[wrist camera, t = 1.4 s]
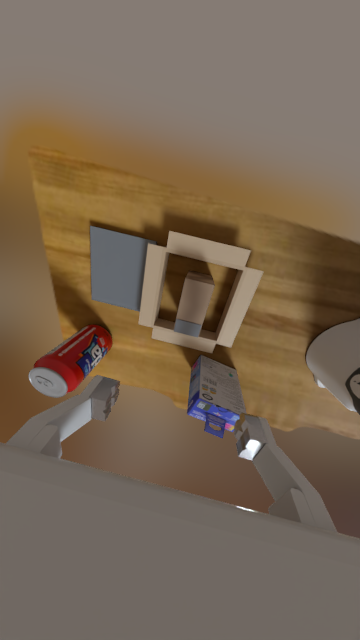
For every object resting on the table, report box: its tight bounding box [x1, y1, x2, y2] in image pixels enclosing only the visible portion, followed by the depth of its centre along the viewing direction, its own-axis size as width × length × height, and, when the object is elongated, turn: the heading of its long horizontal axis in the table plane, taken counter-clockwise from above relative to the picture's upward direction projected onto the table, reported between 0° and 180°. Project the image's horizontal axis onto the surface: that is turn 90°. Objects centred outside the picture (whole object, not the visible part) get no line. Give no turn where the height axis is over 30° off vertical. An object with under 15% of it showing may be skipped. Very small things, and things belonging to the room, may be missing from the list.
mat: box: [90, 226, 157, 311], centre depth 32 cm, size 12×14×1 cm
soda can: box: [29, 325, 112, 398], centre depth 34 cm, size 8×8×15 cm
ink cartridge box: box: [187, 355, 247, 438], centre depth 34 cm, size 10×6×14 cm, turn 67°
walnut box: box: [173, 270, 215, 338], centre depth 29 cm, size 4×9×8 cm, turn 168°
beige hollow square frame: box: [139, 231, 264, 353], centre depth 31 cm, size 19×20×4 cm
